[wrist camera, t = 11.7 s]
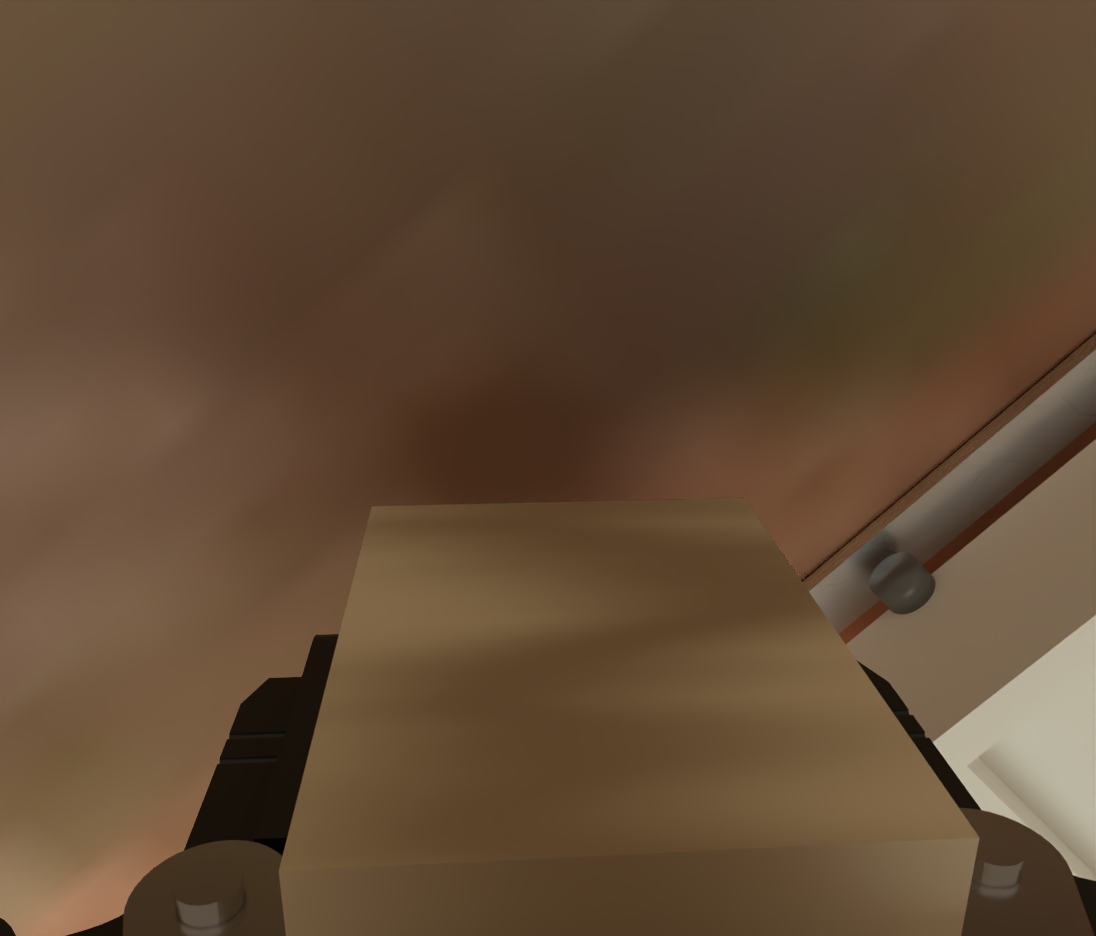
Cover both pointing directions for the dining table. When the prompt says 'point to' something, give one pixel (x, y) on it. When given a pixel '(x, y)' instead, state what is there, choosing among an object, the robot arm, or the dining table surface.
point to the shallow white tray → (1007, 659)
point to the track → (966, 490)
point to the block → (607, 741)
